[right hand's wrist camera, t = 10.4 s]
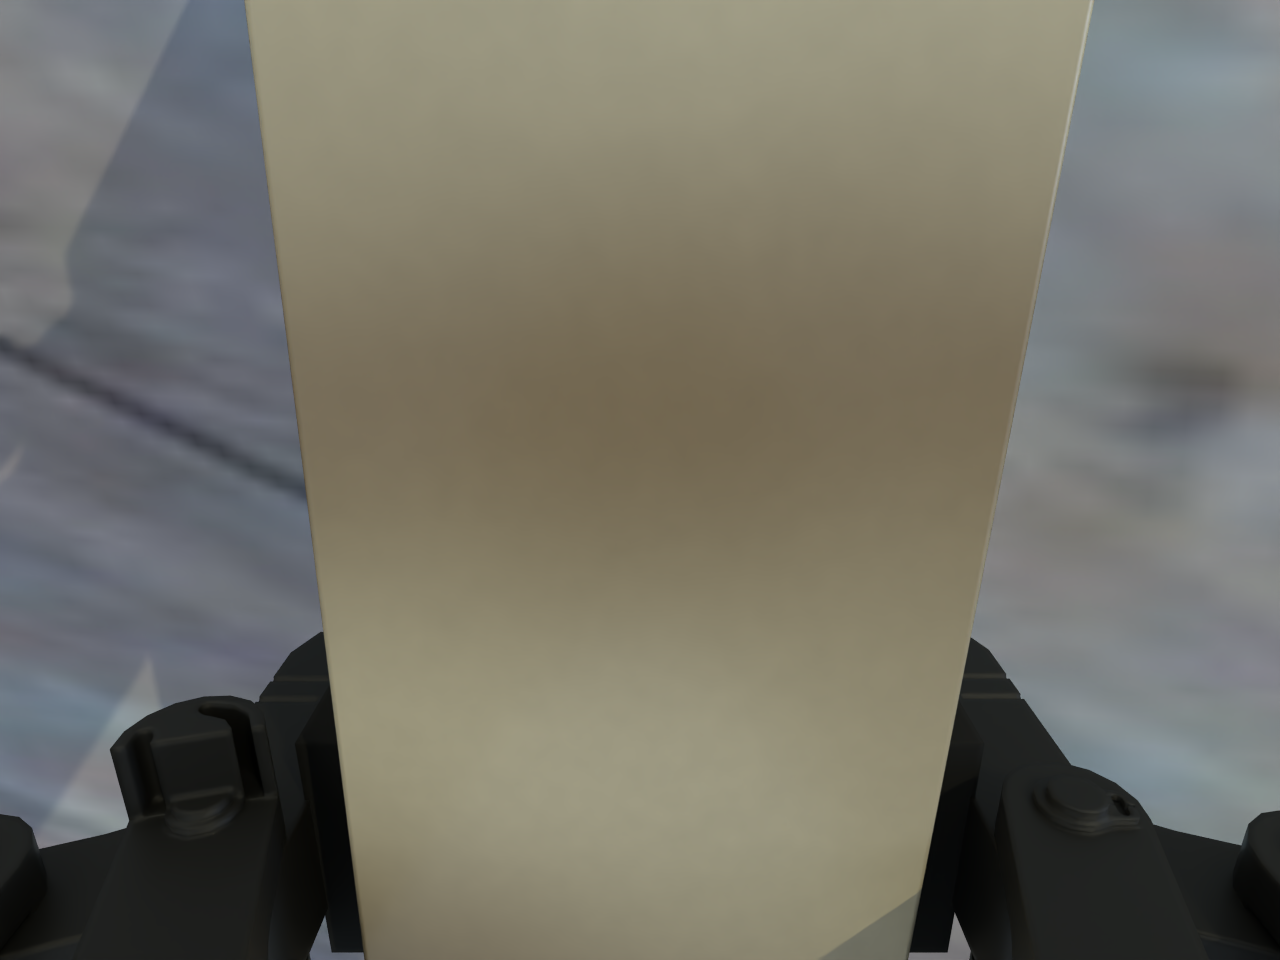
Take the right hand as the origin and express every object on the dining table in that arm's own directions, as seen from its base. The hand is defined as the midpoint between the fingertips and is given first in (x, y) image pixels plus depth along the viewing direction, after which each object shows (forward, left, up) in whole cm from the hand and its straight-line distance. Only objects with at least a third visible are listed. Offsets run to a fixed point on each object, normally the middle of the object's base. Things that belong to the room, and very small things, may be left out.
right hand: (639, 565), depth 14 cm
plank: (+9, 0, -1) cm, 9 cm away
